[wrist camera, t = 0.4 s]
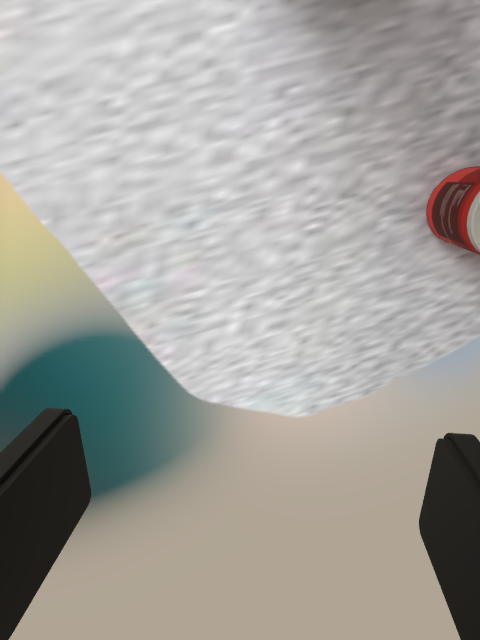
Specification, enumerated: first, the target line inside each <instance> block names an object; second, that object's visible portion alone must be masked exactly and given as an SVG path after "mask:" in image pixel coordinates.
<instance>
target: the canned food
mask: <svg viewBox="0 0 480 640" xmlns="http://www.w3.org/2000/svg"><path fill="white" fill-rule="evenodd" d="M426 214H427V220H428V224H429V226H430V228H431V230H432V231H433V232H434V234H435V235H437V236H438V237H439V238H441V239H443V240H445V241H447V242H449V243H452V244H454V245H457V246H459V247H462V248H464V249H467V250H469V251H472V252H474V253H477V254H479V255H480V167H470V168H465V169H462V170H459V171H457V172H455V173H453V174H451V175H449V176H448V177H447V178H445V179H444V180H443V181H442V182H441V183H440V184H439V185H438V186H437V187H436V188H435V190H434V191H433V193H432V194H431V196H430V198H429V201H428V205H427V213H426Z"/></svg>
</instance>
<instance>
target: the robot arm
mask: <svg viewBox="0 0 480 640" xmlns="http://www.w3.org/2000/svg"><path fill="white" fill-rule="evenodd" d="M90 498H91V488H90V483H89V477H88V472H87V467H86V461H85V456H84V450H83V446H82V440H81V434H80V429H79V423H78V419H77V417H76V416H75V415H72V412H71V411H70V410H68V409H56V408H47V409H45V410H44V411H42V412H41V413H40V415H38V416H37V417H36V418H35V419H34V420H33V421H32V422H31V424H29V425H28V426H27V427H26V428H25V429H24V430H23V431H22V432H21V433H20V434H19V435H18V436H17V437H16V438H15V439H14V440H13V441H12V442H11V443H10V444H9V445H8V446H7V447H6V448H5V449H4V450H3V451H2V452H1V453H0V640H8V639H9V638H10V636H11V635H12V633H13V632H14V630H15V628H16V627H17V625H18V623H19V622H20V620H21V618H22V616H23V615H24V613H25V611H26V610H27V608H28V606H29V604H30V603H31V601H32V599H33V598H34V596H35V594H36V593H37V591H38V589H39V588H40V586H41V584H42V583H43V581H44V579H45V577H46V576H47V574H48V572H49V571H50V569H51V567H52V565H53V564H54V562H55V561H56V559H57V557H58V555H59V554H60V552H61V550H62V549H63V547H64V545H65V544H66V542H67V540H68V539H69V537H70V535H71V534H72V532H73V530H74V528H75V527H76V525H77V523H78V522H79V520H80V518H81V516H82V515H83V513H84V511H85V510H86V508H87V506H88V504H89V502H90ZM419 528H420V534H421V536H422V539H423V542H424V545H425V547H426V550H427V552H428V555H429V558H430V560H431V563H432V566H433V568H434V571H435V573H436V576H437V579H438V581H439V584H440V586H441V589H442V592H443V594H444V597H445V599H446V602H447V604H448V607H449V610H450V612H451V615H452V618H453V620H454V623H455V625H456V628H457V631H458V633H459V636H460V639H461V640H480V442H479V440H478V439H477V438H476V437H475V436H474V435H471V434H455V433H447V434H446V435H445V436H444V439H438V441H437V443H436V447H435V451H434V455H433V460H432V464H431V469H430V473H429V478H428V483H427V487H426V491H425V496H424V500H423V505H422V509H421V513H420V518H419Z"/></svg>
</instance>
